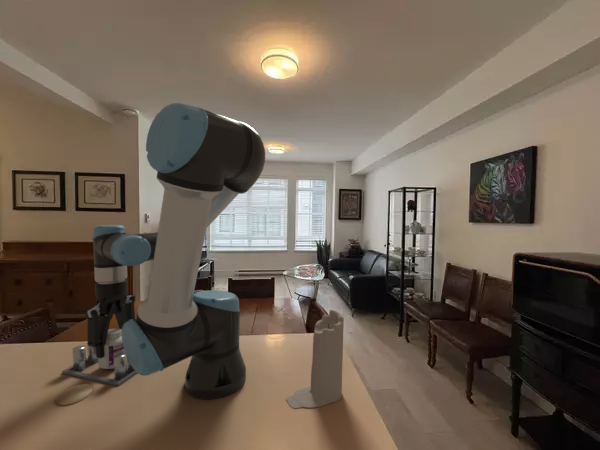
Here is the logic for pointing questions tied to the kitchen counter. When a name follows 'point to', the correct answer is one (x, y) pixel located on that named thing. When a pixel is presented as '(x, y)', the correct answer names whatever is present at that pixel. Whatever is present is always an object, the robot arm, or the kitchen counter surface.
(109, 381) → the parts tray rim
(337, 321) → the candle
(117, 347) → the pill bottle
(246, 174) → the robot arm
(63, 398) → the cork coaster
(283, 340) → the kitchen counter surface
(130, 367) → the spacers
